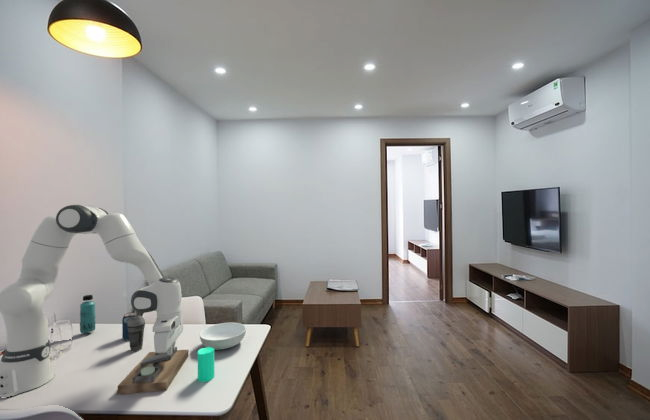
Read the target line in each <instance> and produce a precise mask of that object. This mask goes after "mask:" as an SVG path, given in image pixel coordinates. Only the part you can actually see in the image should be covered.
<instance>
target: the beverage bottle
mask: <svg viewBox="0 0 650 420" xmlns="http://www.w3.org/2000/svg"><path fill="white" fill-rule="evenodd" d="M82 297H83V298H82V301H84V302H82V303H81V304H80V305H79V308H80V310H79V332H80V333H81V334H86V333H87V334H88V333H91V332H95V330H96V317H97V316H96V302H95V301H93V299H94V297H93V294H86V295H83V296H82Z"/></svg>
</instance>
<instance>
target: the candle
mask: <svg viewBox="0 0 650 420" xmlns="http://www.w3.org/2000/svg"><path fill="white" fill-rule="evenodd" d="M214 378H215V349H214V348H211V347H202V348H201V347H200V349H198V351H197V381H198V382H199V383H200V382H201V383H205V382H206V383H207V382H209V381H212V380H213V379H214Z"/></svg>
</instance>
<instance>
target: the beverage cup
mask: <svg viewBox="0 0 650 420" xmlns="http://www.w3.org/2000/svg"><path fill="white" fill-rule="evenodd" d="M134 312H135V316H133V317H131V318H130V319H129V321H128V324H127V329H128V333H129V340H128V341H129V347H130V348H129V349H130V352H133V353H134V352H136V353H137V352H139V351H141V350H142V349H143V343H144V333H145V327H146V319H145V318H144V317H143V316H142V315H139V314H138V315H136V311H135V310H134Z"/></svg>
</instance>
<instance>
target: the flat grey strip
mask: <svg viewBox="0 0 650 420" xmlns="http://www.w3.org/2000/svg"><path fill="white" fill-rule="evenodd" d="M170 356H171V355H167V352H166V353H162V354H158V355H155V356H151V357H148V358H145V359H144V360H143V361H142V360H141V361H142V362H141V361H140V362H141V363H140V362H139V363H140V365H141V367H142V366H145V365H149V364H152V363H156V362H160V361H163V360H167V359H168V358H169V357H170Z"/></svg>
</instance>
